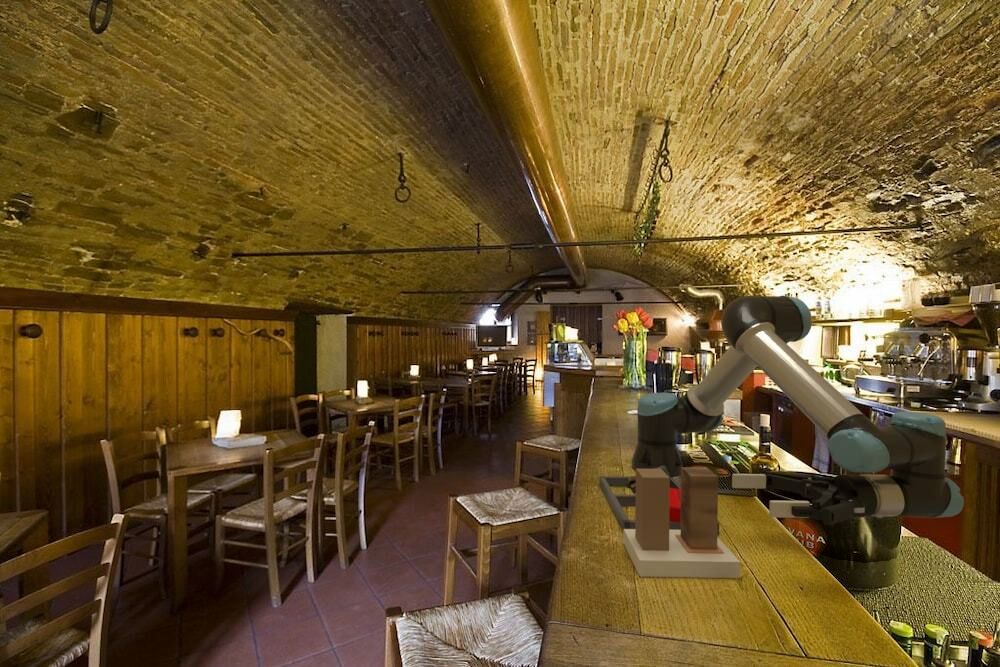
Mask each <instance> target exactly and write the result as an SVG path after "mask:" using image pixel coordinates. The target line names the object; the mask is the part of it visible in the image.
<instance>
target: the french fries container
mask: <svg viewBox="0 0 1000 667" xmlns="http://www.w3.org/2000/svg"><path fill="white" fill-rule="evenodd" d="M669 521H671V522H679V523H681V490H680V489H677V488H670V510H669Z"/></svg>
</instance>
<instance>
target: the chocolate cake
mask: <svg viewBox="0 0 1000 667" xmlns="http://www.w3.org/2000/svg"><path fill="white" fill-rule="evenodd" d="M654 469H662V470H663V471H664V472H665V473H666V474H667V475H668V476H669V477H671V476H670V475H669V472H668V471H667V470H666V465H664V466H663V465H662V466H660V467H657V468H654ZM631 476H632V477H630V478H628V479H627V480H626V485H627V486H628V487H629V488H631V491H632V495H636V475H634V477H633V475H631ZM627 486H626V487H627Z"/></svg>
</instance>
